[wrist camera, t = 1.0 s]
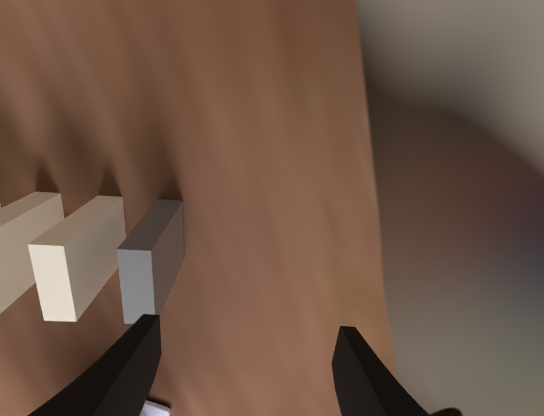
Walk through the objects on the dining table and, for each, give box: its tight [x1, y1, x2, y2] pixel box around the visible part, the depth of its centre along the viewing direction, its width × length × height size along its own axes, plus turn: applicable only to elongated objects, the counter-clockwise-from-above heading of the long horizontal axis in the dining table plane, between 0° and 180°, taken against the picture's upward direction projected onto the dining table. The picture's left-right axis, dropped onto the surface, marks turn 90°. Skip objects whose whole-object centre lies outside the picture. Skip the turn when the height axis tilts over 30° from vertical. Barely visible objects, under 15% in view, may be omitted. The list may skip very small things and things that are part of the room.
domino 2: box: [28, 195, 126, 322], centre depth 19 cm, size 2×4×7 cm, turn 176°
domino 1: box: [0, 192, 65, 314], centre depth 19 cm, size 2×4×7 cm, turn 176°
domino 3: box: [117, 199, 184, 324], centre depth 19 cm, size 2×4×7 cm, turn 175°
